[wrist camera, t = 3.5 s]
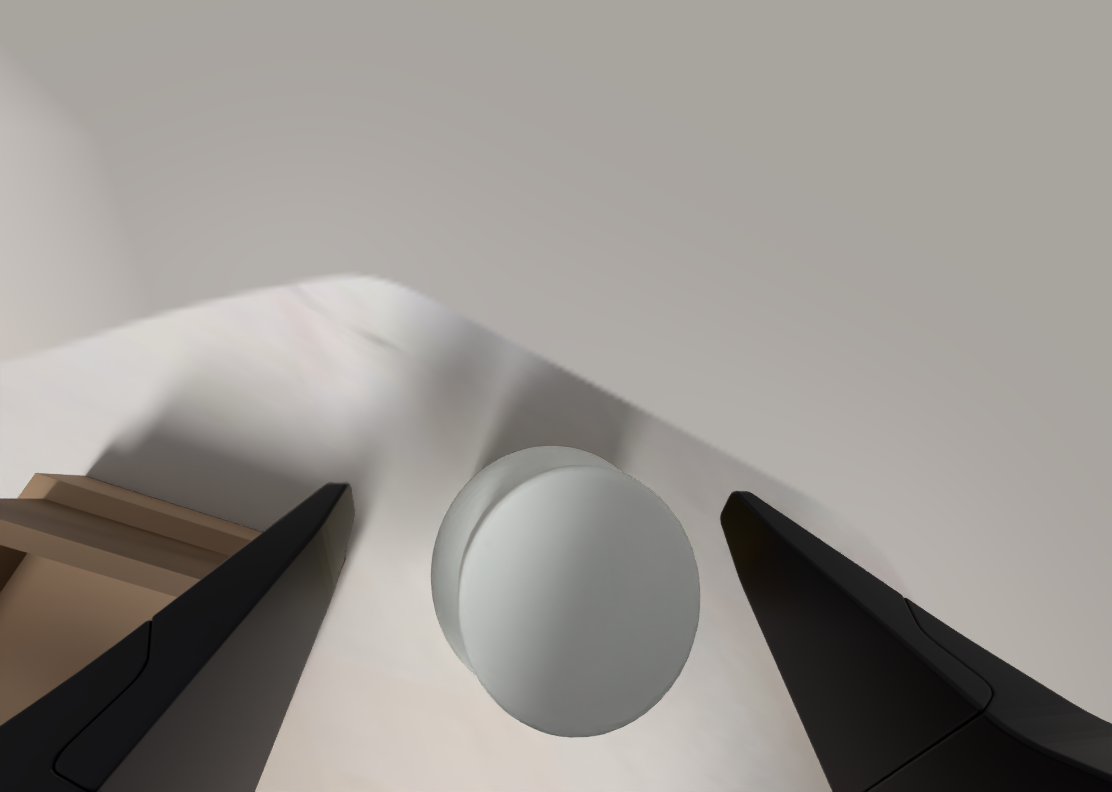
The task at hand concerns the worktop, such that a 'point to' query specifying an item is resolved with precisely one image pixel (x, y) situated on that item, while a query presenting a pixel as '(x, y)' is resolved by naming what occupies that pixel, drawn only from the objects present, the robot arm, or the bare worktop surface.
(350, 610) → the worktop surface
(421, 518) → the worktop surface
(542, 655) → the supplement bottle
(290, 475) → the worktop surface
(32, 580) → the wooden compartment tray
